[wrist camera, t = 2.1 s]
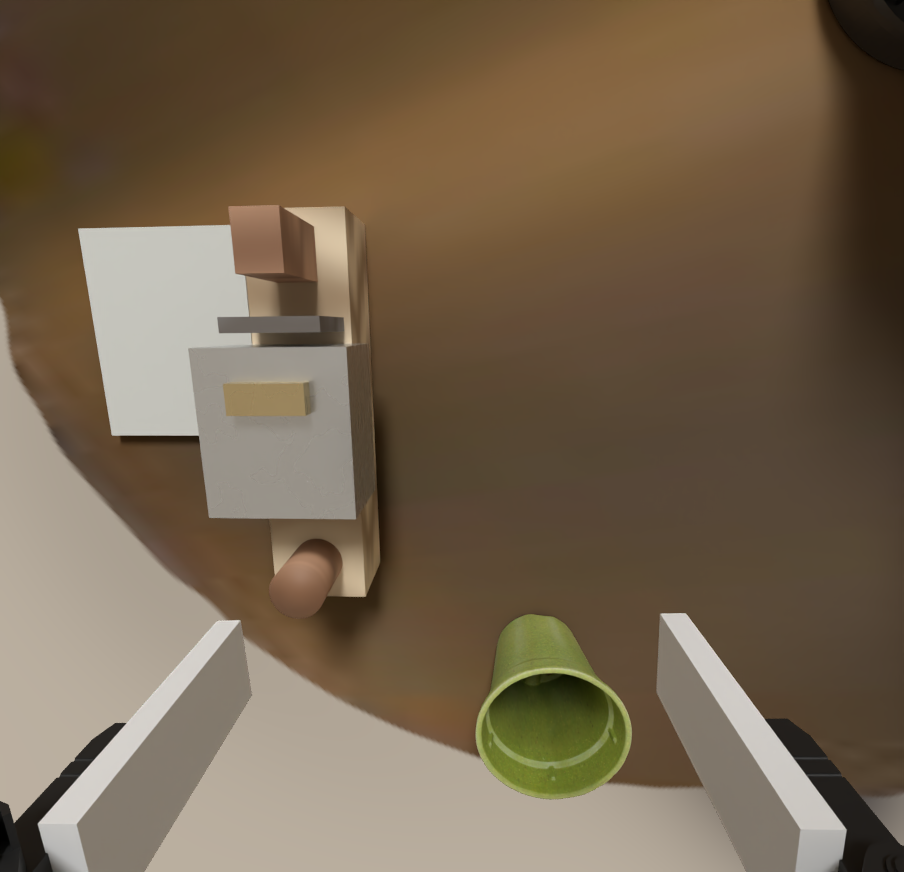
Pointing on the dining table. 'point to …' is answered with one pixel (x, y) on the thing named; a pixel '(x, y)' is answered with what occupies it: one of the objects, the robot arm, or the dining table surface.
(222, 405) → the lever cap
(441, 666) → the dining table surface
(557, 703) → the plant pot
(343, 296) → the hand plane
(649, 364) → the dining table surface
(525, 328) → the dining table surface
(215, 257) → the rubber mat
